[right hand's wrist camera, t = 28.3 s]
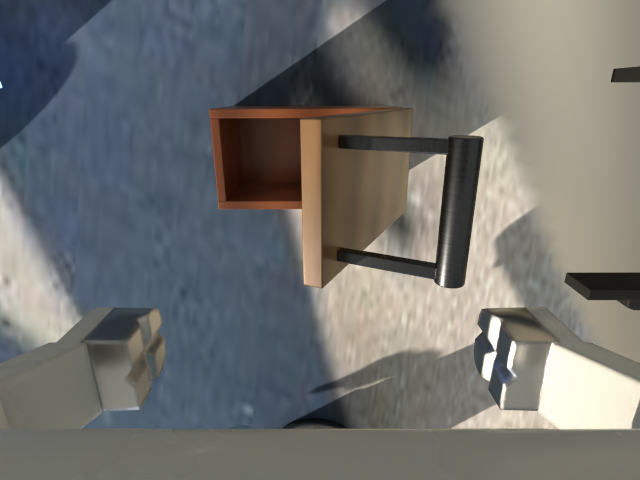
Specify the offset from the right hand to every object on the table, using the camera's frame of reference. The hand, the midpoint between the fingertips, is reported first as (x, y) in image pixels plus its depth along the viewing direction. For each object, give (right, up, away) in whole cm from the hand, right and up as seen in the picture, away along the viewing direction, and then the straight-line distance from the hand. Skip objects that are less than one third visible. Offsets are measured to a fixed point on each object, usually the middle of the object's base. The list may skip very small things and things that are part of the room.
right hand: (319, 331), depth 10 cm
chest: (-1, +13, +37) cm, 39 cm away
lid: (+3, +7, +19) cm, 20 cm away
